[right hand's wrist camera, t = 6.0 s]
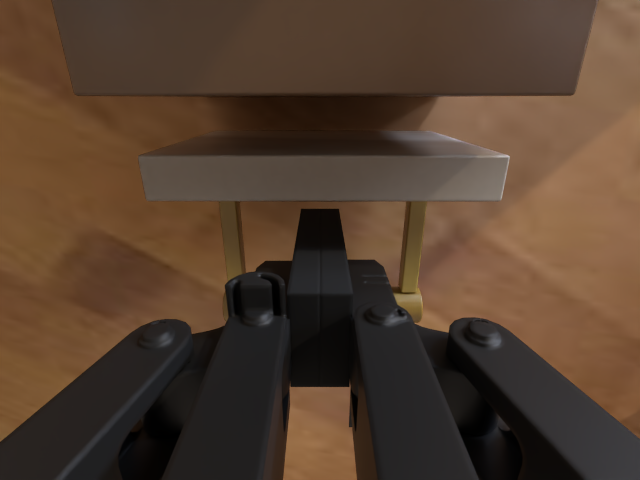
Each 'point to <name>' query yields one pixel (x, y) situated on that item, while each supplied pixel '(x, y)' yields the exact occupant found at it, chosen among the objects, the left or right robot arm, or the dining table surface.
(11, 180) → the dining table surface
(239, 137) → the drawer
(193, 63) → the cabinet
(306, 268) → the right robot arm
